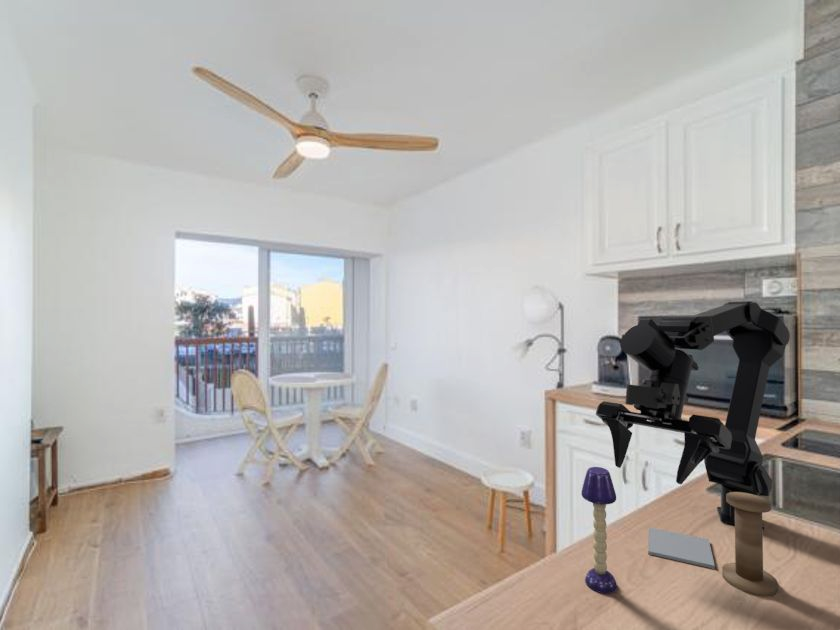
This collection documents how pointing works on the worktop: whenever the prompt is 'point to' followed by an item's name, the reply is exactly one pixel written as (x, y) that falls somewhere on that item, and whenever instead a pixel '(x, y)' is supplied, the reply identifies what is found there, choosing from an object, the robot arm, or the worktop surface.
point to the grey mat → (680, 547)
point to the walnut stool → (749, 546)
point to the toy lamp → (599, 526)
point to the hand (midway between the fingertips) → (646, 474)
